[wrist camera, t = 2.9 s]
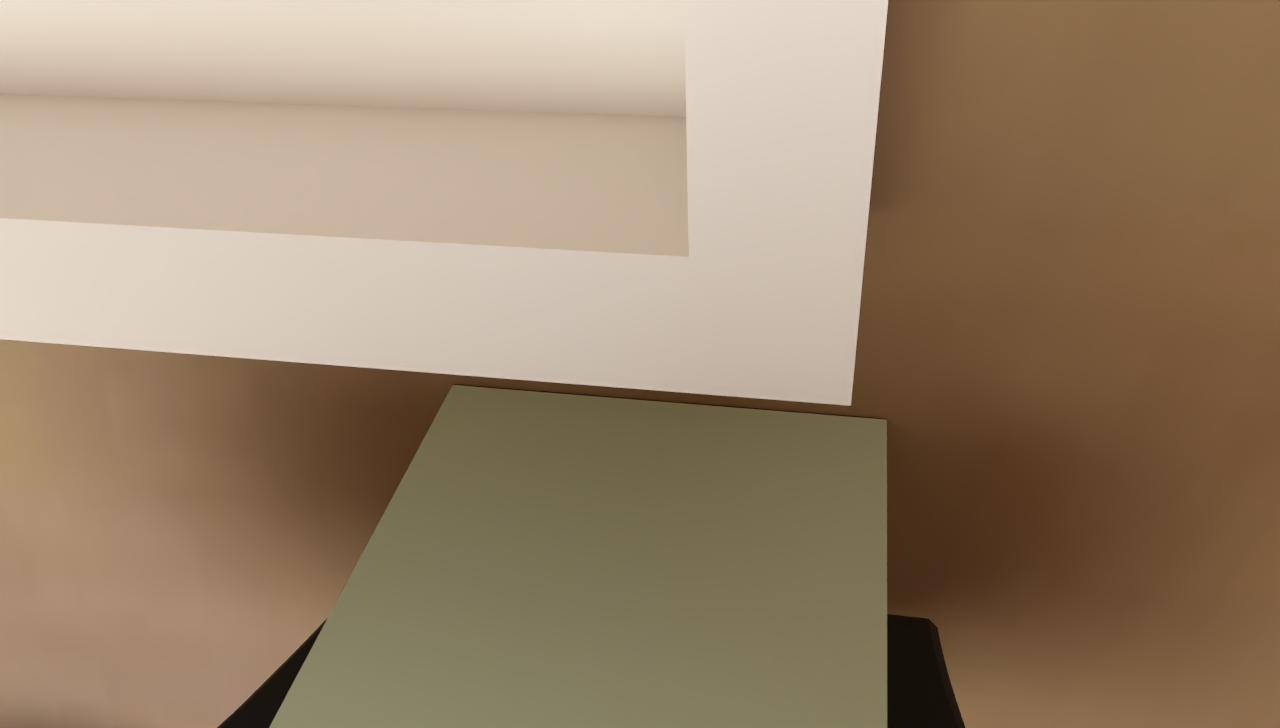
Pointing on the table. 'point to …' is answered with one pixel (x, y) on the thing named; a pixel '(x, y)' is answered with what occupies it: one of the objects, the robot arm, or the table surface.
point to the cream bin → (448, 185)
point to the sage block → (615, 573)
